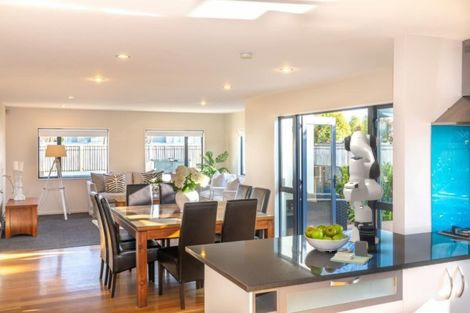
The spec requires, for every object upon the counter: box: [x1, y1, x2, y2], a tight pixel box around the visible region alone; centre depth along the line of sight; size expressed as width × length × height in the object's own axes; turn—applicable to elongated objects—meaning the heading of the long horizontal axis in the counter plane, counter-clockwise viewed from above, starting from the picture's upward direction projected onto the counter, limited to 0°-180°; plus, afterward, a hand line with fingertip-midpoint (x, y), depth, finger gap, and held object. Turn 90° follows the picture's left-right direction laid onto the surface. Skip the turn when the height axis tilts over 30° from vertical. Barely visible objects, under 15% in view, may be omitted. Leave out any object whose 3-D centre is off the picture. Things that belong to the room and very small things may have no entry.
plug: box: [354, 241, 369, 257], centre depth 248 cm, size 4×6×8 cm, turn 59°
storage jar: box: [359, 225, 377, 254], centre depth 264 cm, size 10×10×15 cm
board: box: [329, 247, 373, 266], centre depth 246 cm, size 20×18×4 cm
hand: (357, 209), depth 252 cm, fingers open, 8 cm apart
